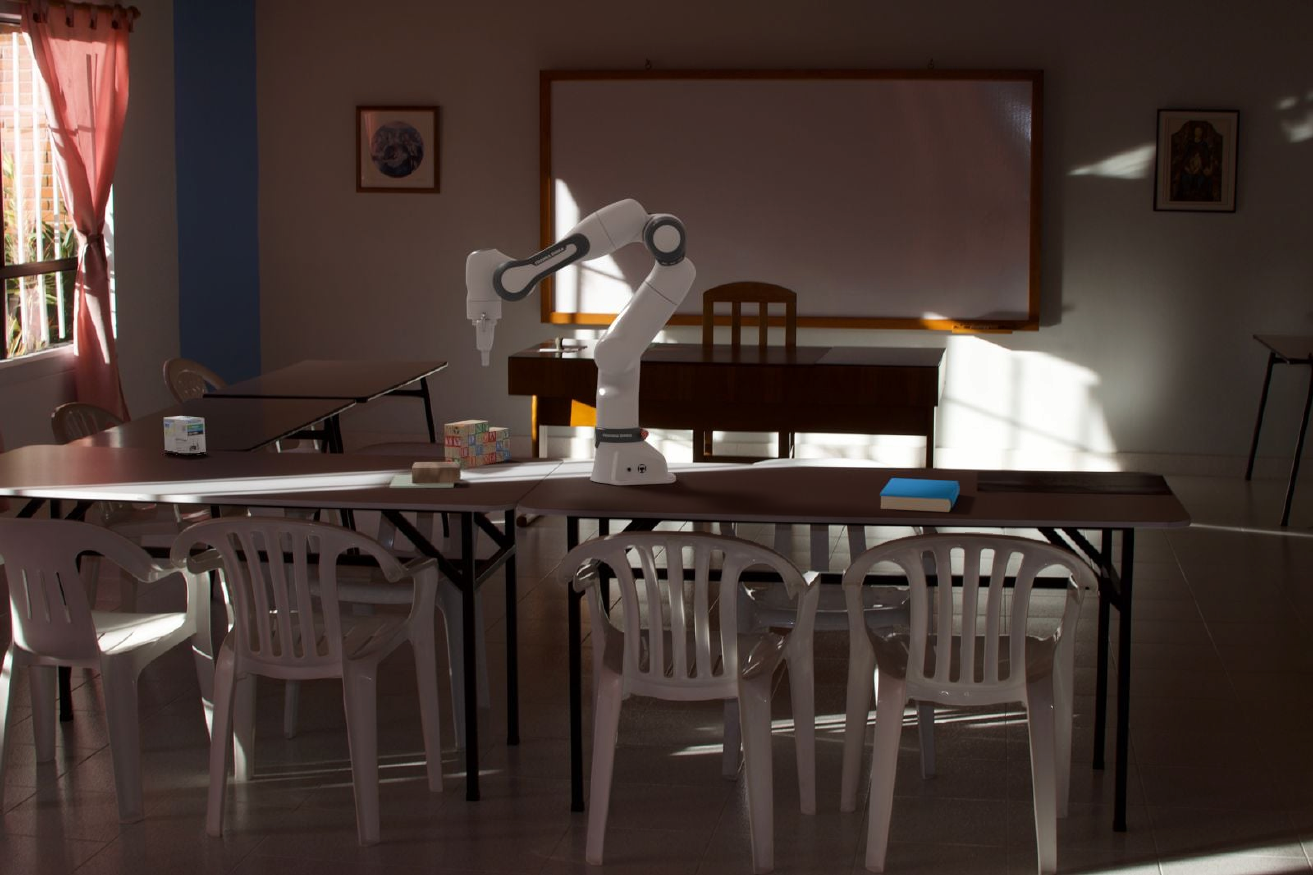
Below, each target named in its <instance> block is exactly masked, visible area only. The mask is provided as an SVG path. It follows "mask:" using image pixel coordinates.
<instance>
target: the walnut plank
mask: <svg viewBox="0 0 1313 875" xmlns="http://www.w3.org/2000/svg"><path fill="white" fill-rule="evenodd" d="M461 471H462V469H461V462H445V461H416V462H414V463H413V464H412V467H411V475H412V483H454V484H459V483H460V481H461V476H462V475H461V474H462V472H461Z"/></svg>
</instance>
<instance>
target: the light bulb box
mask: <svg viewBox="0 0 1313 875" xmlns="http://www.w3.org/2000/svg"><path fill="white" fill-rule="evenodd" d="M205 431H206V427H205V418H204V417H196V416H195V417H194V416H186V415H184V416H183V415H179V416H178V415H177V416H168V417H167V416H166V417H165V416H164V417H163V432H164V434H163V435H164V436H163V437H164V451H165V450H167V451H173V452H178V453H200V452H206V453H207V450H206V448H207V447H206V432H205Z"/></svg>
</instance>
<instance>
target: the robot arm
mask: <svg viewBox="0 0 1313 875" xmlns="http://www.w3.org/2000/svg"><path fill="white" fill-rule="evenodd" d="M635 242H638V243H639V242H640V243H641V244H643V245H644V246H645V248H646V250H647V251H648V252H650V254H651V255H652V256H653V259H655V263H654V266H653V268H652V269H651V271H650V273H649V274H648V275H647V276H646V277H645V279H644V281H643V282H642V284H641V285H640V286H639V288H638V289H637V290H636V291H635V293H634V294H633V296H632V297H631V298H630V300H629V301H628V302H627V304H626V305H625V306H624V307H623V309H622V310H621V311H620V313H619V314H618V315H617V316H616V318H615V319H614V320H613V322H612V323H611V324H610V325H609V327H608V328H607V329H606V330H605V332H604V333H603V334H602V336H601V337H600V338H599V339H598V341H597V342H596V344H595V346H594V349H593V360H594V363H595V365H596V367H597V368H598V370H597V371H598V372H597V387H596V388H597V389H596V394H595V395H596V397H595V399H596V405H595V407H596V410H595V411H596V412H595V413H596V415H595V416H596V418H595V419H596V424H595V425H596V426H594V432H593V433H594V434H593V436H594V437H593V438H594V439H593V440H594V441H593V443H594V444H593V445H594V448H595V454H594V462H593V467H592V471H591V474H590V478H589V480H590V481H591V482H592V481H593V482H595V483H601V484H609V485H614V486H630V485H631V486H632V485H633V486H635V485H636V486H637V485H657V484H660V485H661V484H673V483H674V482H676V481H677V477H676V475H675V474H674V473H672V472H670V471H669V468H668V463H667V460H666V457H665V456H664V455H663V453H662V452H660V451H659V450H658V449H657V448H655V447H654V446H653V445H651V444H650V443H649V442H648V441H646V440H647V438H648V437H649V436H650V432H649V430H647V429H644V428H642V427H641V426H639V392H640V377H641V374H640V373H641V356H642V355H643V354H644V353H645V351H646V350H647V349H648V347H649V346H650V344H651V343H652V342H653V341H654V340H655V338H656V337H657V336H658V334H659V333H660V332H661V331H662V329H663V328H664V327H665V325H666V323H667V322H668V321H669V320H670V319H671V317H672V316H673V315H674V313H675V311H677V309H678V308H679V306H680V305H681V304H682V302H683V300H684V299H685V297H686V296H687V294H688V292H689V291H690V289H691V287H692V285H693V282H694V281H695V279H696V276H697V270H696V267H695V265H694V263H693V262H692V261H691V260H690V259H689V258H688V257H686V252H687V251H686V250H687V244H688V233H687V229H686V227H685V225H684V223H683V222H682V220H680V219H679V217H678V216H675V215H673V214H670V213H665V212H647V211H646V210H645V209H644V207H643V206H642V204H640V203H639V202H638V201H637V200H635V199H633V198H626V199H623V200H619V201H617V202H614V203H611V204H609V205H606V206H603V207H602V208H600V209H598V210H596V211H595V212H593V213H591V214H589V215H588V216H586V217H585V218H584V219H582V220H580V221H579V222H578V223H576V225H575V226H574V227H573V228H572V229H570V230H569V231H568V232H567V233H566V235H564V236H562V238H561V239H560V240H558V241H557V242H555V243H554V244H552V245H551V246H548V247H546V248H545V249H544V250H543V249H542V250H541V251H539V252H537V253H535V254H534V255H532V256H530V257H528V258H525V259H520V260H519V259H515V258H512V257H510V256H508V255H507V254H504V253H502V252H501V251H499V250H498V249H497V248H494V247H488V248H483V249H478V250H474V251H472V252H470V254H469V255H468V256H467V258H466V264H465V284H466V288H467V295H466V320H467V319H468V320H471V322H472V323H471V326H475V328H476V349H477V350H478V351H480V356H481V366H482V367H488V366H490V352H491V351H492V348H493V344H494V339H495V338H494V337H495V326H497V325H498V323H497V320H499V319H502V299H503V300H505V301H507V302H512V303H513V302H519V301H521V300H523V299H525V298H526V297H528V296H529V295H531V293H533V291H534V290H535V288H536V286H537V284H538V283H539V282H541V281H542V280H544V279H545V278H547V277H550V276H551V275H552V274H555V273H556V272H558V271H560V270H562V269H564V268H566V267H568V266H570V265H573V264H577V263H583V262H590V261H593V260H597V259H600V258H602V257H604V256H608V255H609V254H611V253H614V252H615V251H617V250H618V249H621V248H622V247H624V246H627V244H632V243H635Z"/></svg>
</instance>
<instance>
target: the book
mask: <svg viewBox="0 0 1313 875" xmlns="http://www.w3.org/2000/svg"><path fill="white" fill-rule="evenodd" d="M960 492H961V488H960V485H959V481H958V480H940V479H939V480H937V479H920V478H919V479H917V478H916V479H915V478H896V477H895V478H894V477H893V478H892V477H891V478H890V480H889V481H888V482H887V484H886V485H885V487H883V489H882V490H881V492H880V493H879V497H880V509H881V510H882V509H884V510H906V511H922V512H925V511H926V512H942V513H949V512H951V510H952V508H953V507H954V505H955V503H956V500H957V498H958V495H959V493H960Z"/></svg>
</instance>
